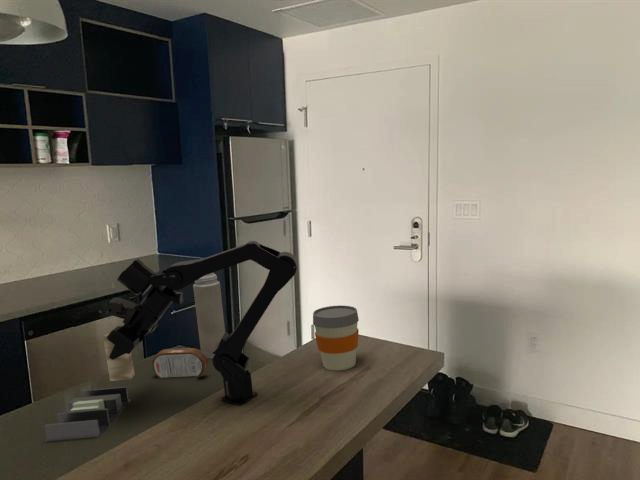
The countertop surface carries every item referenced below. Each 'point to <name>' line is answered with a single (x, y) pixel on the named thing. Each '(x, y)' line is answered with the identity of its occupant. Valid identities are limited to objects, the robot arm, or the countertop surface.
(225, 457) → the countertop surface
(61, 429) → the rack
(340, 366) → the reusable coffee cup
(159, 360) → the tin
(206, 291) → the thermos bottle
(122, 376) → the light wooden block
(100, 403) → the offcuts
